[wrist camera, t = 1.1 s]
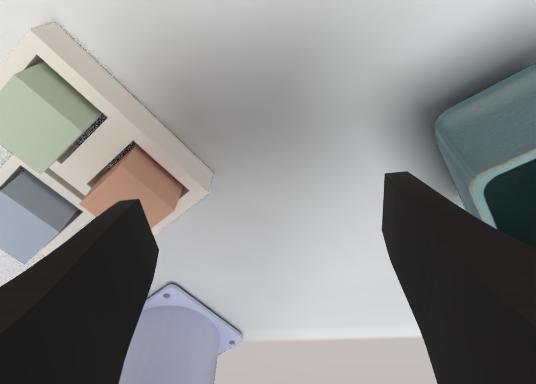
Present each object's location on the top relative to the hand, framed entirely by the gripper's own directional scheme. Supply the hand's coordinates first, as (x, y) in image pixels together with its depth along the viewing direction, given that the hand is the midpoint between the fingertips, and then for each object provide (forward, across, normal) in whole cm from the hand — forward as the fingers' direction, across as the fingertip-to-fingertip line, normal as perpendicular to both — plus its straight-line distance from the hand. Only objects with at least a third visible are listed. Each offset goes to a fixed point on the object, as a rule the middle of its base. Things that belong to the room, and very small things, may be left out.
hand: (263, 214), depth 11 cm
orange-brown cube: (+9, +8, +4) cm, 12 cm away
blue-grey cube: (+9, +14, +4) cm, 17 cm away
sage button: (+9, +11, -1) cm, 14 cm away
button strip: (+11, +9, +1) cm, 14 cm away
